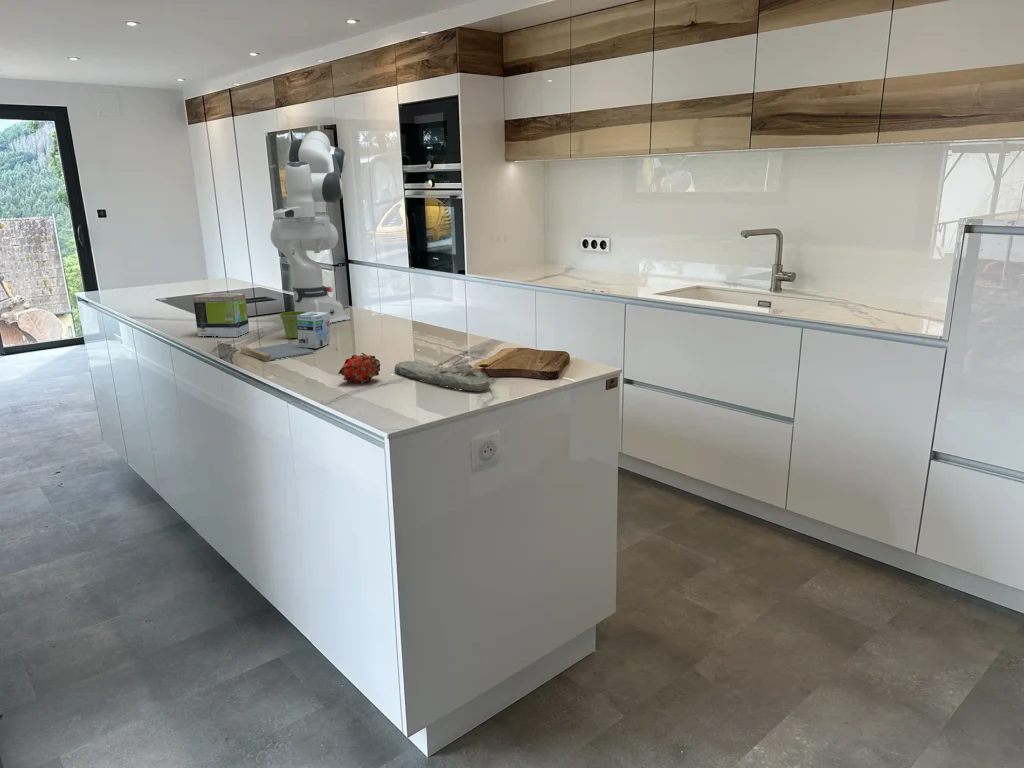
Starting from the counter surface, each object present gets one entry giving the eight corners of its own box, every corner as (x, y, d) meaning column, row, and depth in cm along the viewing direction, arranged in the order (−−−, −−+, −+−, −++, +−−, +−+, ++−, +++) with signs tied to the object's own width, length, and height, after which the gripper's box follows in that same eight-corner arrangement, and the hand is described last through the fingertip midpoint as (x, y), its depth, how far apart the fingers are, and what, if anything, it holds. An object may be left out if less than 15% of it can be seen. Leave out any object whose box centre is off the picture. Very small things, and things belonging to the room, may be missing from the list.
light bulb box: (316, 349, 226) (315, 316, 224) (297, 347, 227) (296, 314, 225) (331, 343, 236) (330, 312, 234) (312, 342, 238) (311, 311, 235)
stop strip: (245, 351, 225) (245, 346, 225) (271, 360, 213) (270, 355, 212) (240, 352, 224) (240, 347, 223) (266, 361, 212) (265, 355, 211)
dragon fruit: (385, 384, 191) (344, 397, 186) (374, 362, 195) (332, 374, 190) (387, 365, 185) (344, 377, 180) (375, 342, 189) (332, 354, 184)
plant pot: (301, 340, 242) (299, 316, 240) (276, 339, 244) (274, 315, 241) (313, 335, 251) (311, 311, 248) (289, 334, 253) (287, 310, 250)
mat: (289, 344, 235) (289, 342, 235) (316, 352, 223) (315, 351, 223) (246, 351, 225) (246, 349, 225) (271, 360, 213) (271, 358, 213)
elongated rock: (412, 372, 205) (386, 380, 198) (410, 354, 203) (384, 362, 196) (500, 386, 182) (474, 396, 175) (498, 367, 180) (472, 376, 173)
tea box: (250, 332, 256) (246, 292, 252) (237, 338, 247) (232, 296, 243) (211, 332, 258) (206, 292, 254) (197, 337, 248) (191, 296, 244)
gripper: (324, 211, 242) (327, 251, 246) (268, 212, 228) (272, 254, 232) (333, 211, 238) (336, 252, 241) (277, 212, 224) (280, 256, 228)
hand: (304, 253), depth 237 cm, fingers open, 8 cm apart
